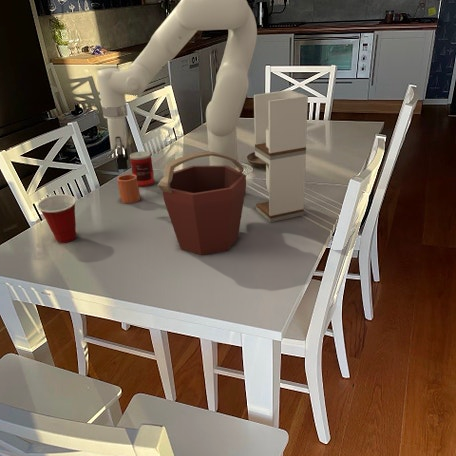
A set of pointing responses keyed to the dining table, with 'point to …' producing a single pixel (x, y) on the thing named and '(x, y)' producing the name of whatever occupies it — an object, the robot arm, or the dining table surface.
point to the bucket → (204, 203)
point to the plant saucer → (256, 161)
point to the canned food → (142, 168)
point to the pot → (128, 188)
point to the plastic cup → (60, 216)
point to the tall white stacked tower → (282, 151)
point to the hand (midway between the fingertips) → (123, 164)
